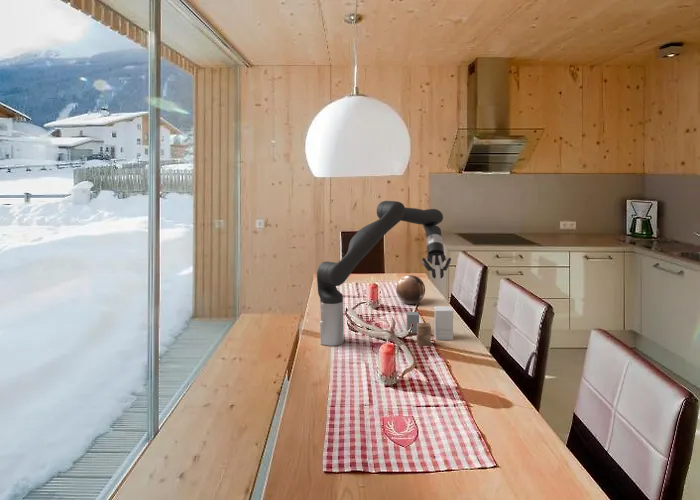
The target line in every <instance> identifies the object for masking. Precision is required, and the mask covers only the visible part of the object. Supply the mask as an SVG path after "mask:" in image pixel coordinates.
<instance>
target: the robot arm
mask: <svg viewBox="0 0 700 500" xmlns="http://www.w3.org/2000/svg"><path fill="white" fill-rule="evenodd" d="M376 216H377V217H378V219H377V220H375V221H374V222H371V223H369V224H367V225H365V226H363V227H361V229H359V230H358V231H357V232H356V233H355V234H354V235H353V236H352V237H351V238H350V241H349V243H348V247H347V248H348V249H347V252H346V254H345V255H344V256H343V257H342V258H341V259H340V260H338V262H335V261H327V260H326V261H323V262H321V263H320V264H319V265H318V268H317V271H316V281H317V282H316V283H317V285H316V286H317V292H318V293H317V294H318V296H319V302H320V306H319V307H320V322H319V328H320V329H319V330H320V345H322V346H323V345H324V346H331V347H332V346H340V345H343V344H344V342H345V341H344V340H345V336H344V335H345V334H344V295H343V294H342V292H340V290H339V289H338V288H337V287H339V286H342V285H343V284H344V283H345V282H346V281H347V279H348V278H349V277H350V275H351V274H352V272H353V271H354V269H355V268H356V267H357V266H358V265H359V263H360V262H362V260H363V259H364V258H365V256H366V255H368V254H369V252H370V251H372V249H373V248H375V246H376V245H377V244H378V242H380V240H381V239H383V237H385V235H386V234H387V233H388V232H389V231H391V230H392V228H395V226H397V225H398V223H400V222H401V221H402V222H406V223H410V224H415V225H422V226H423V229H424V232H425V236H426V251H427V256H426V258H425V257H422V259H421V263H422V265H423V266H424V268H425V269H426V270H427V271H428V272H429V271H431V278H433V279H436V277H437V275H436V274H437V273H436V267H435V266H438V268H439V276H440V279H443V278H444V276H445V275H444V274H445V273H444V272H446V271H447V270H448V268H449V266H450V264H451V261H452V258H451V257H446V255H445V250H444V242H443V237H442V230H441V228H440V226H438V225H439V224H440V223H442V221H443V220H444V214H443V213H442V212H441V211H440V210H439V209H437V208H427V209H420V208H415V207H405V204H404V203H402V202H401V201H395V200H384V201H380V203H378V205H377V207H376ZM444 261H445V264H443V263H444ZM429 263H430V264H431V265H430V264H429Z"/></svg>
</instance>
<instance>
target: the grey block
mask: <svg viewBox="0 0 700 500" xmlns="http://www.w3.org/2000/svg"><path fill="white" fill-rule="evenodd" d="M412 322H413V327H412V333H411V334H417V323H420V313H419V311H406V332H407V331H408V330H409V329H410V327H411V324H412Z"/></svg>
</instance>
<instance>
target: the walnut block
mask: <svg viewBox="0 0 700 500" xmlns="http://www.w3.org/2000/svg"><path fill="white" fill-rule="evenodd" d="M431 339H432V326H431V323H430V322H419V323H417V333H416V343H417V346H418V347H429V346H430V347H431V346H432V340H431Z"/></svg>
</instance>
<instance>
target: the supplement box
mask: <svg viewBox="0 0 700 500" xmlns="http://www.w3.org/2000/svg"><path fill="white" fill-rule="evenodd" d="M433 312H434V316H433V317H434V318H433V319H434V321H433V322H434V323H433V325H434V329H433V331H434V334H433V335H434V338H435V339H434V340H435V341H453V340H454V310H453V307H452V305H451V306H450V305H449V306H448V305H445V306H443V305H442V306H441V305H440V306H438V305H437V306H434V311H433Z"/></svg>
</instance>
